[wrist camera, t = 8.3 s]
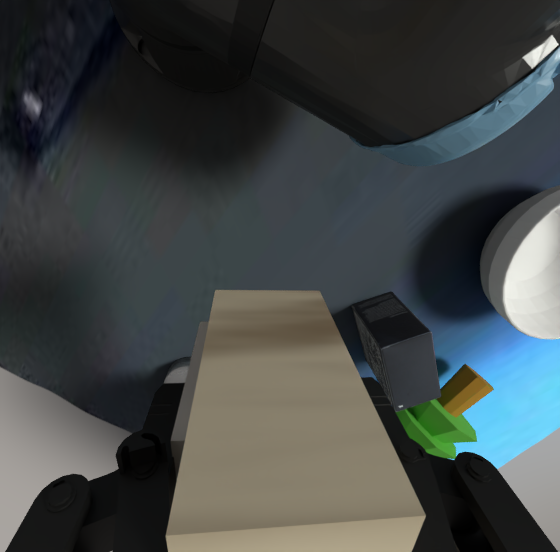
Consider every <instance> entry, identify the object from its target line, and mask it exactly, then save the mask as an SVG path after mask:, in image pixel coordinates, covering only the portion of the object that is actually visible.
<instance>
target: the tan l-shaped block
mask: <svg viewBox="0 0 560 552" xmlns="http://www.w3.org/2000/svg"><path fill="white" fill-rule="evenodd" d="M425 517H426V515H425V512H424V510H423V508H422V506H421V504H420V502H419V500H418V498H417V496H416V493H415V491H414V489H413V487H412V485H411V483H410V481H409V479H408V477H407V474H406V472H405V470H404V468H403V466H402V464H401V462H400V460H399V458H398V455H397V453H396V451H395V449H394V447H393V445H392V443H391V441H390V439H389V436H388V434H387V432H386V430H385V428H384V426H383V424H382V422H381V420H380V417H379V415H378V413H377V411H376V409H375V407H374V405H373V403H372V401H371V398H370V396H369V394H368V392H367V390H366V388H365V386H364V384H363V382H362V379H361V377H360V375H359V373H358V371H357V369H356V367H355V365H354V363H353V360H352V358H351V356H350V354H349V352H348V350H347V348H346V346H345V344H344V341H343V339H342V337H341V335H340V333H339V331H338V329H337V327H336V325H335V322H334V320H333V318H332V316H331V314H330V312H329V310H328V308H327V306H326V303H325V301H324V299H323V297H322V295H321V293H320V291H275V290H215V294H214V299H213V304H212V309H211V314H210V319H209V324H208V329H207V334H206V339H205V344H204V349H203V354H202V359H201V364H200V369H199V373H198V378H197V383H196V388H195V393H194V398H193V403H192V408H191V413H190V418H189V423H188V428H187V433H186V438H185V443H184V448H183V453H182V458H181V463H180V468H179V473H178V477H177V482H176V487H175V492H174V497H173V502H172V507H171V512H170V517H169V522H168V527H167V532H166V541H167V547H168V552H412V550H413V547H414V545H415V542H416V540H417V537H418V535H419V532H420V530H421V527H422V525H423V522H424V520H425Z"/></svg>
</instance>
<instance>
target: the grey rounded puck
mask: <svg viewBox="0 0 560 552" xmlns="http://www.w3.org/2000/svg"><path fill="white" fill-rule="evenodd" d="M190 361H191V357H184V358H180V359H178V360H176V361H175V362H174V363H172V365H171V366H170V368H169V370H168V373H167V376H166V378H165V381H164V383H185V381H186V377H187V373H188V369H189V365H190Z"/></svg>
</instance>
